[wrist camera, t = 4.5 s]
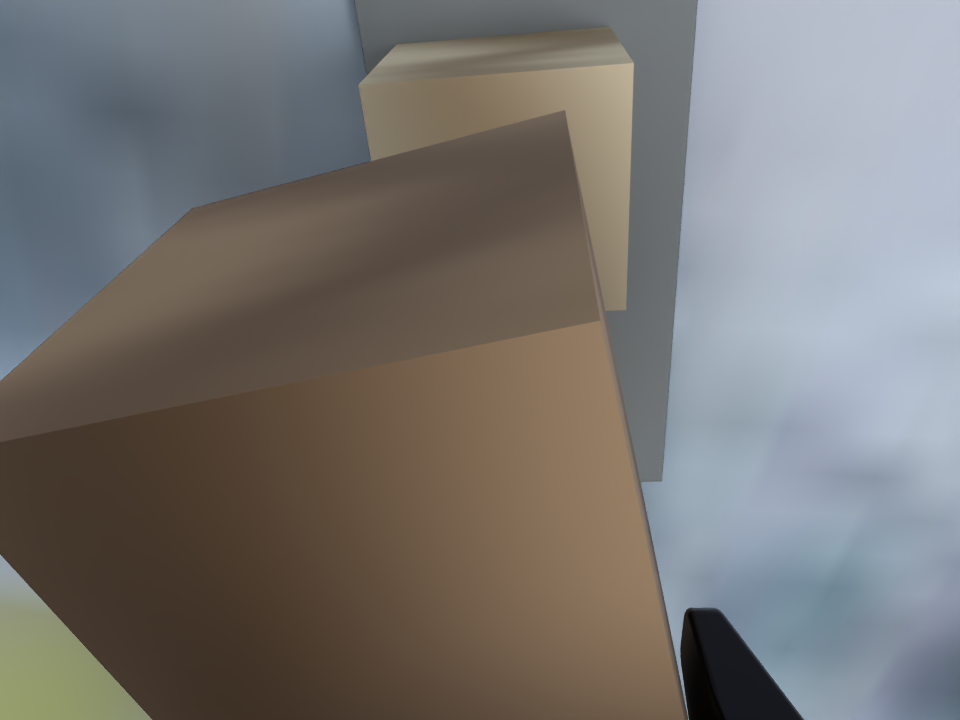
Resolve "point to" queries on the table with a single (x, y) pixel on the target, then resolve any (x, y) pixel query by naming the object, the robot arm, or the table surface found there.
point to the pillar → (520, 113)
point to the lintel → (351, 456)
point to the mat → (654, 160)
